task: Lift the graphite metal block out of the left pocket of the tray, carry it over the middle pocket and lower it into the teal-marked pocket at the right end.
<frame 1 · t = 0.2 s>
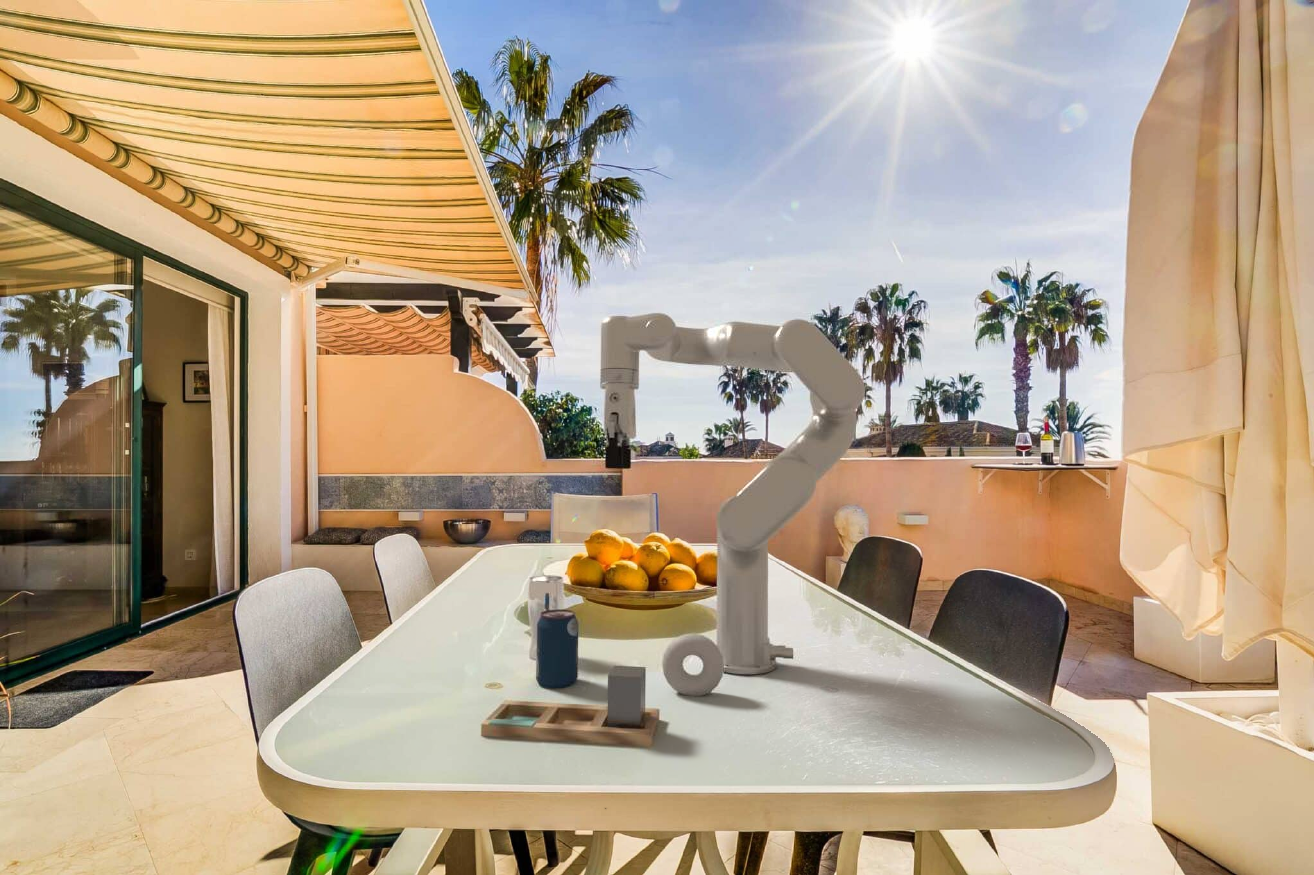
hand: (618, 468, 124), 36 cm above the table, tool pointing down, fingers open, 9 cm apart
donut: (692, 697, 103), on the table
soda can: (556, 686, 107), on the table
block: (626, 730, 88), resting on tray
beer glass: (544, 656, 124), on the table
tray: (573, 730, 89), on the table
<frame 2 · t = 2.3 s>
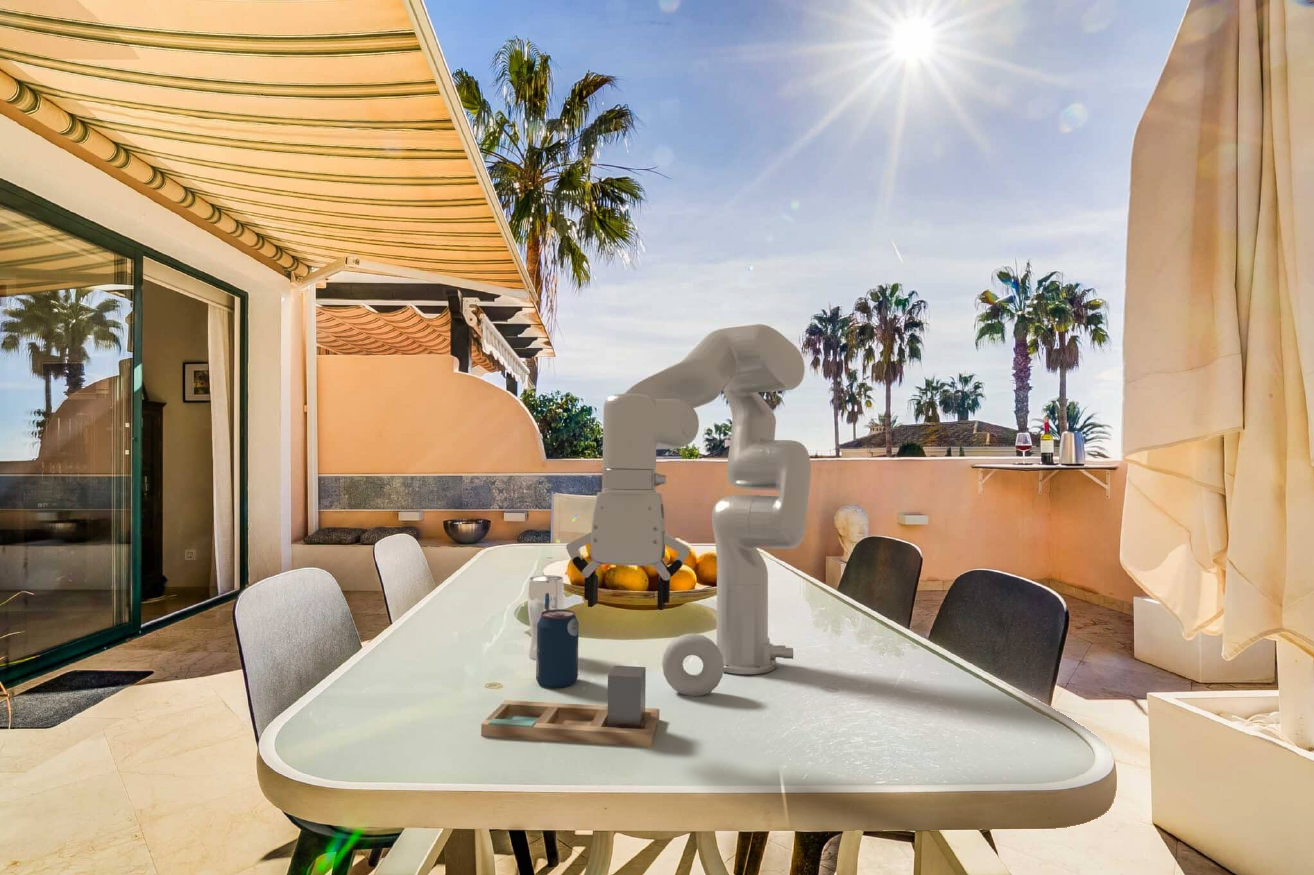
hand: (626, 606, 88), 17 cm above the table, tool pointing down, fingers open, 9 cm apart
nothing on the table moved.
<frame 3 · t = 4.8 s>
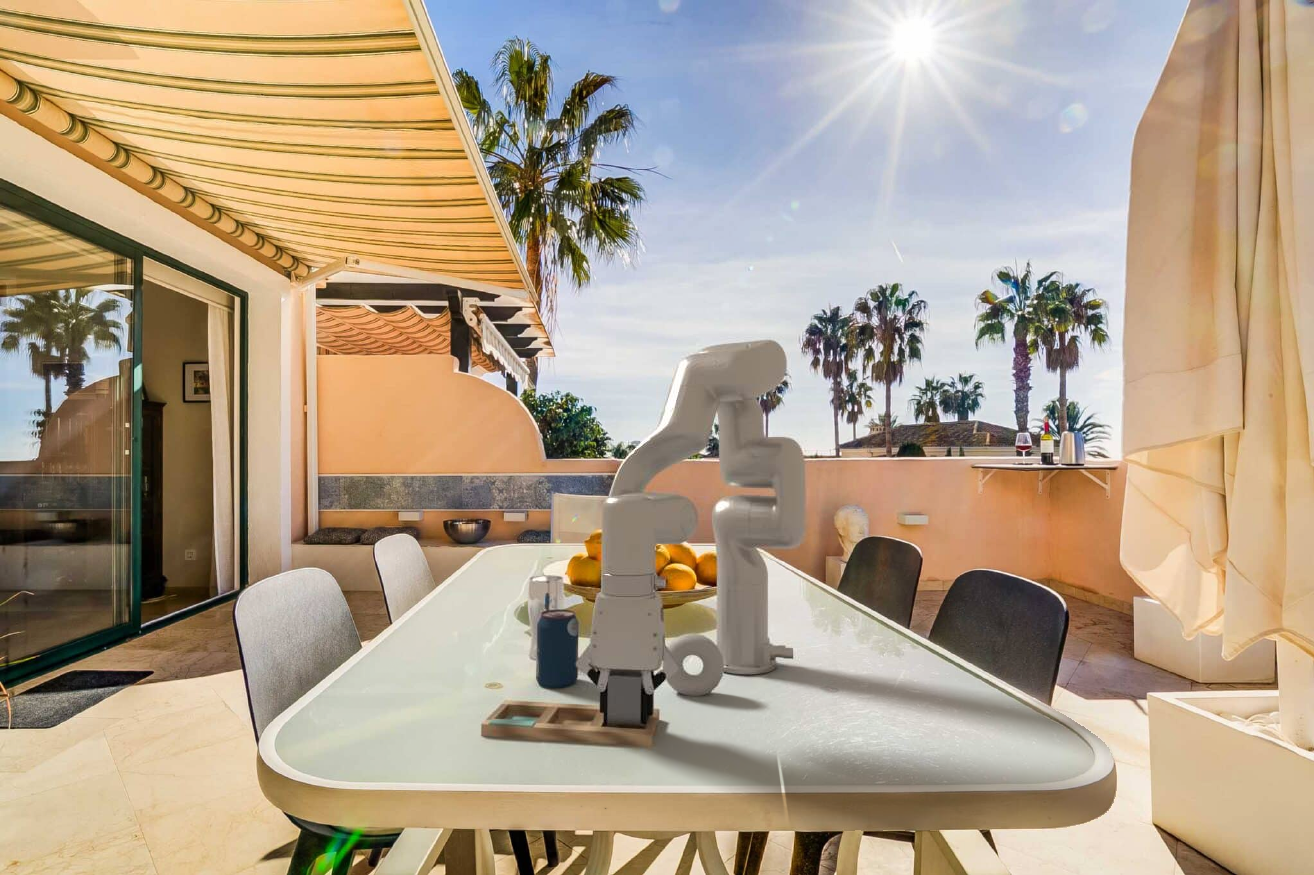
hand: (626, 717, 88), 2 cm above the table, tool pointing down, fingers closed on block, 4 cm apart
block: (626, 730, 88), resting on tray, touching gripper
everything else where it was.
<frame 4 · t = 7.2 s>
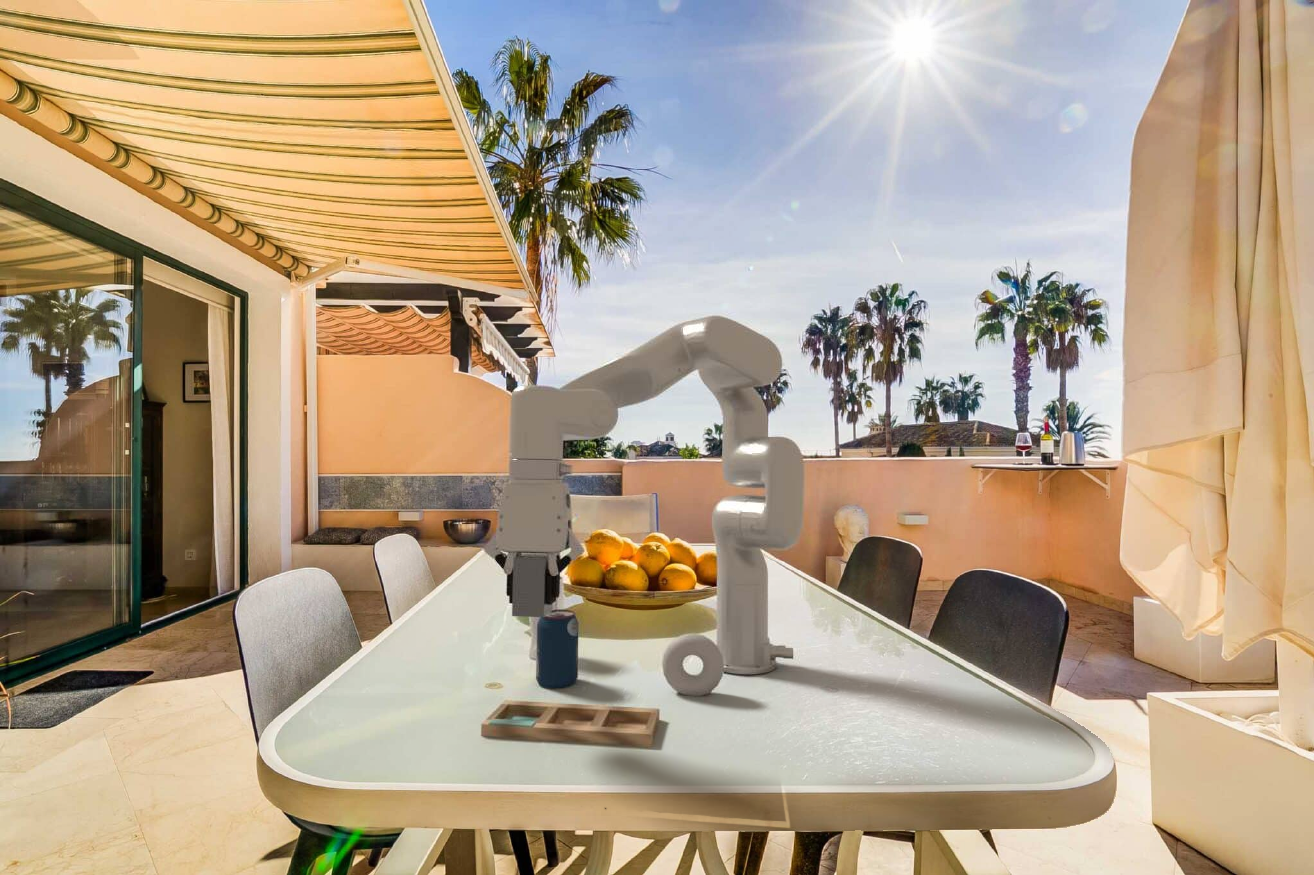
hand: (532, 600, 90), 18 cm above the table, tool pointing down, fingers closed on block, 4 cm apart
block: (532, 613, 90), point 16 cm above the table, touching gripper
everything else where it was.
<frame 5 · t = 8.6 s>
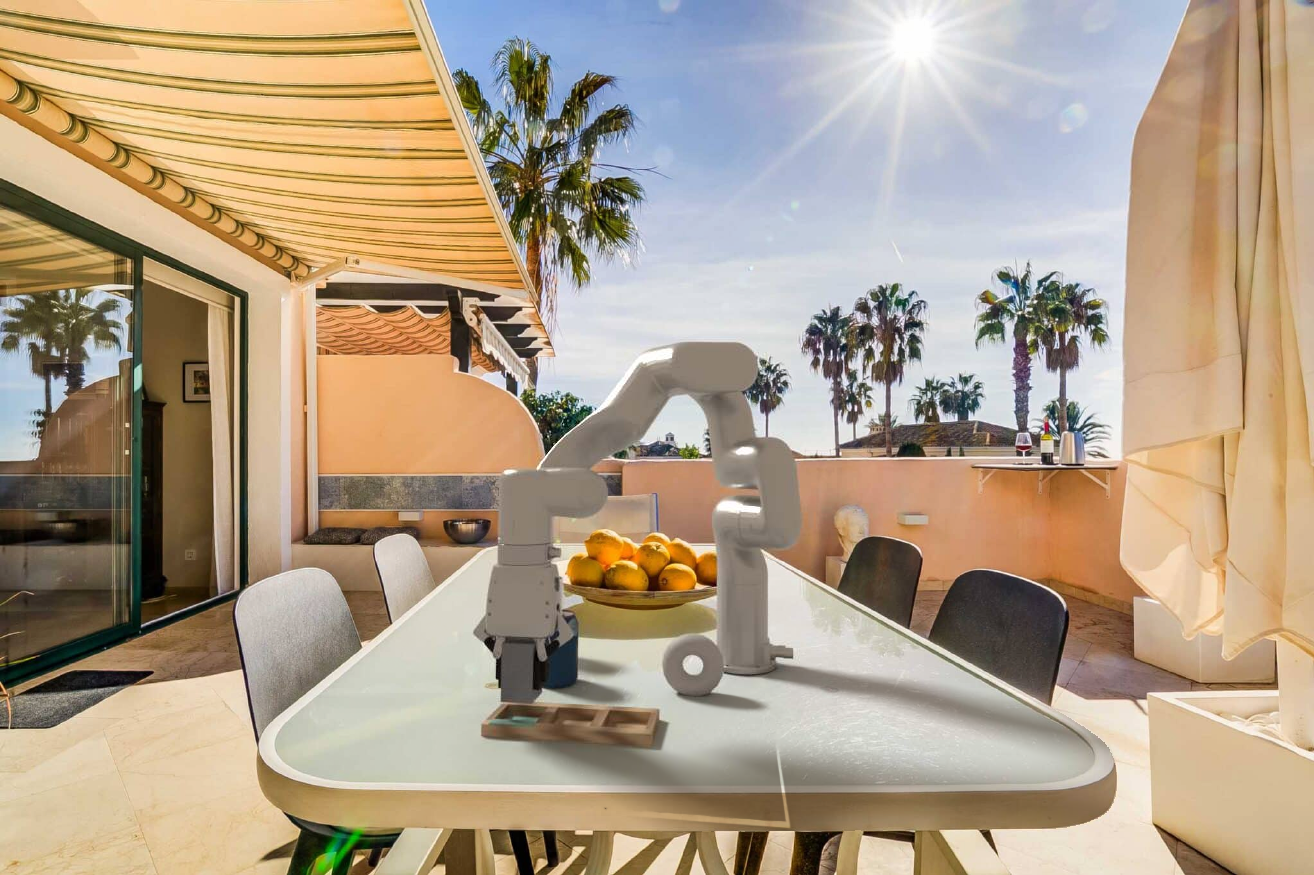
hand: (522, 684, 90), 6 cm above the table, tool pointing down, fingers closed on block, 4 cm apart
block: (521, 697, 90), point 4 cm above the table, touching gripper
everything else where it was.
when the fingers open (3 cm above the table, at t = 9.9 s): block stays where it is, resting on tray.
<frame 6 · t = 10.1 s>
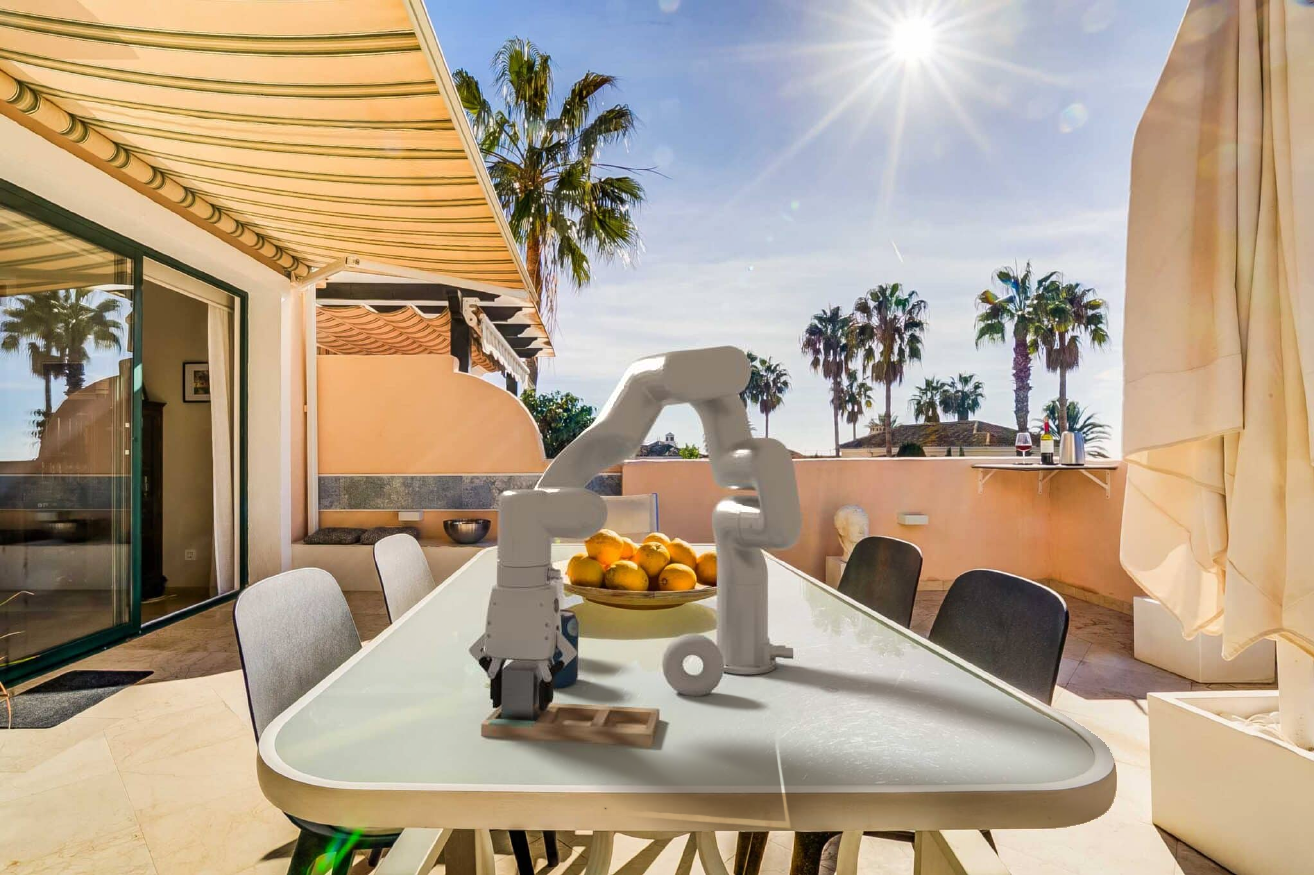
hand: (521, 704, 90), 3 cm above the table, tool pointing down, fingers open, 6 cm apart
block: (522, 723, 90), point 1 cm above the table, touching tray
everything else where it was.
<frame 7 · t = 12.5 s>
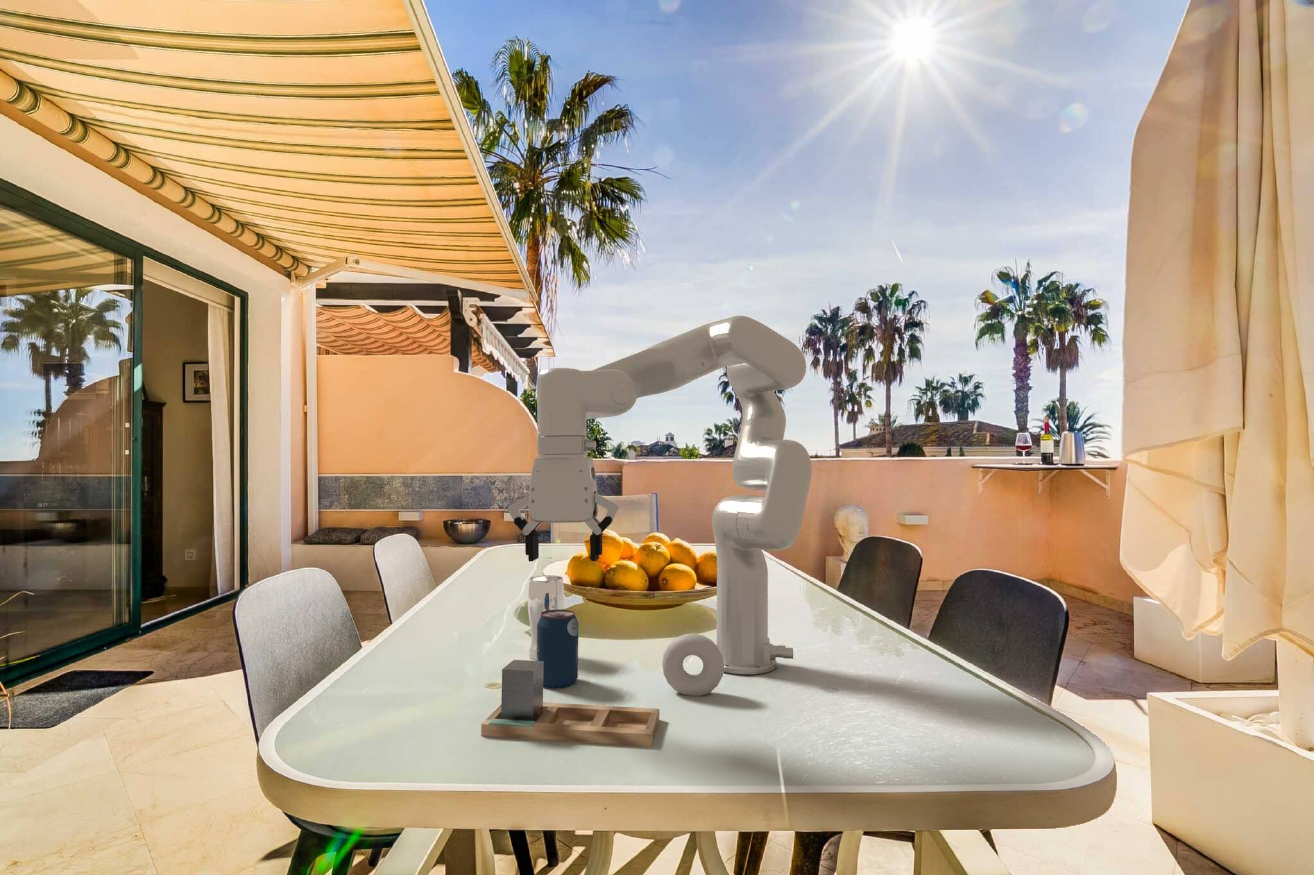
hand: (564, 559, 98), 22 cm above the table, tool pointing down, fingers open, 9 cm apart
nothing on the table moved.
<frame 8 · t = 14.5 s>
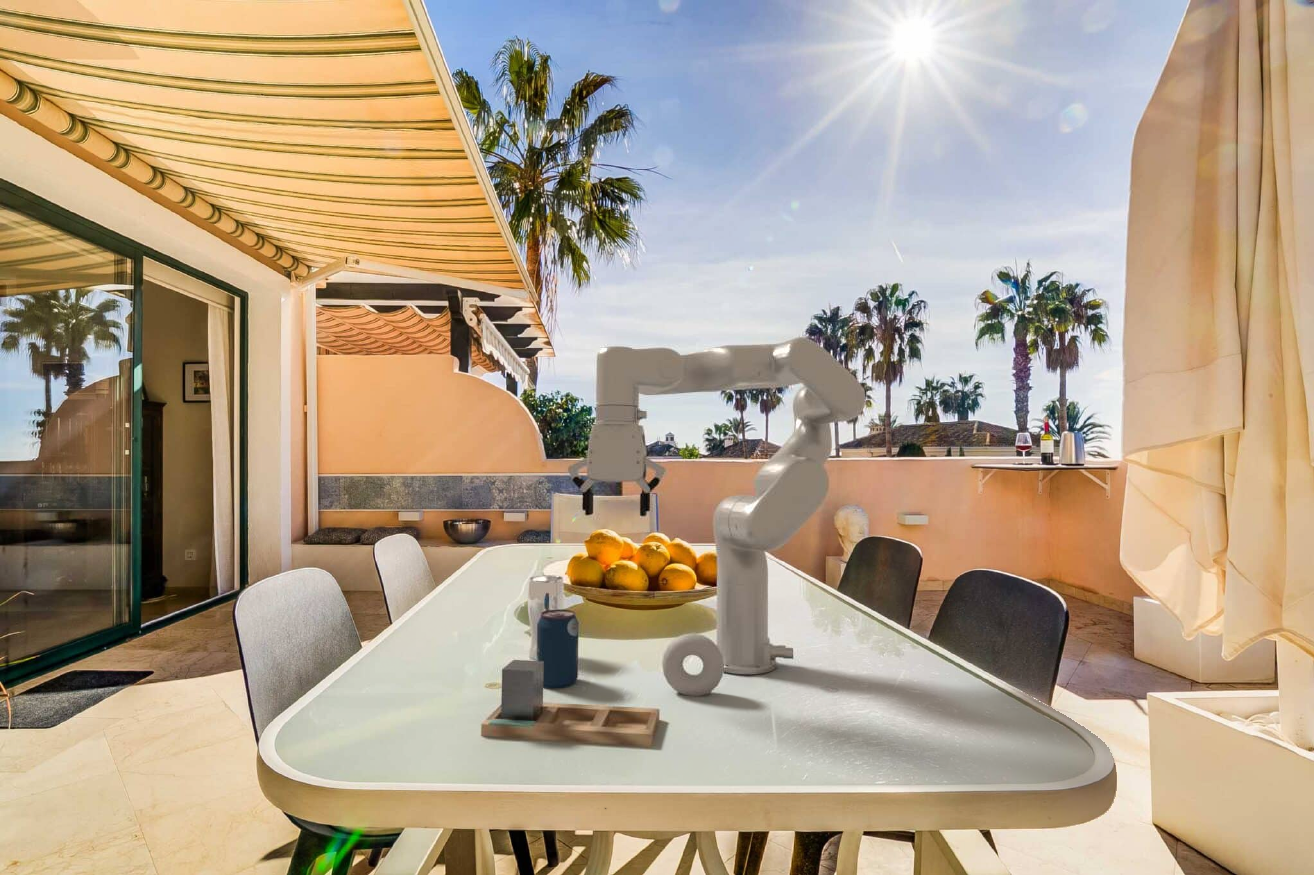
hand: (616, 515, 112), 28 cm above the table, tool pointing down, fingers open, 9 cm apart
nothing on the table moved.
at the end: block 0.1 cm from the target spot on the tray, point 0.6 cm above the tray's base; block tilted 0°; the gripper is holding nothing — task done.
